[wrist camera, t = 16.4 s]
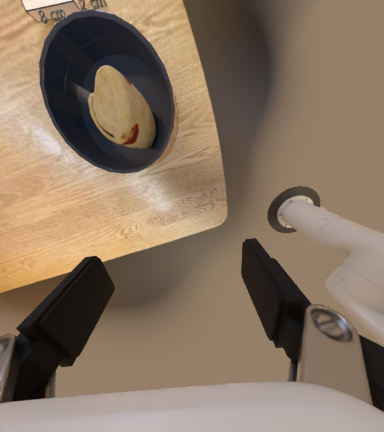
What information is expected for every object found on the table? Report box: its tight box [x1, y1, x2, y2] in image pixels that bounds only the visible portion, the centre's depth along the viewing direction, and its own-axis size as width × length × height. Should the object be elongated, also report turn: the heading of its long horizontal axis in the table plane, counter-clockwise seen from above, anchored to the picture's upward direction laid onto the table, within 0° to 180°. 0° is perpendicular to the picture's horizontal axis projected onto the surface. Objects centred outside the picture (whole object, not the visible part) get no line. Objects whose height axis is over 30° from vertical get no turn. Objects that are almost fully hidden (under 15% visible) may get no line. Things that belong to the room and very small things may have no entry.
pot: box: [39, 9, 178, 174], centre depth 31 cm, size 24×24×10 cm
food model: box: [88, 65, 156, 149], centre depth 27 cm, size 10×7×20 cm
